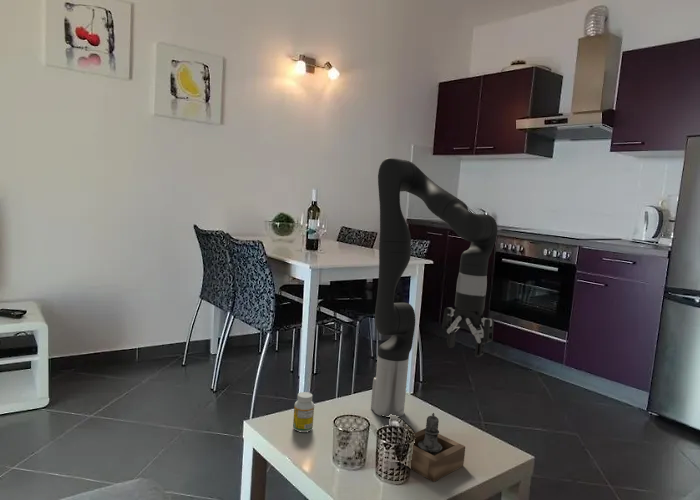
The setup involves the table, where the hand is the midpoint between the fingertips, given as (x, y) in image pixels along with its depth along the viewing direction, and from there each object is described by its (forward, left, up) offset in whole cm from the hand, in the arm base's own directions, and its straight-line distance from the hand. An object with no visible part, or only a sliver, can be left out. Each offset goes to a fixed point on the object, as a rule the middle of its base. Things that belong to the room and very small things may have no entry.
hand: (464, 351), depth 136 cm
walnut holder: (+2, -14, -25) cm, 29 cm away
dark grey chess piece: (+2, -14, -25) cm, 28 cm away
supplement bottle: (-30, -28, -25) cm, 48 cm away
